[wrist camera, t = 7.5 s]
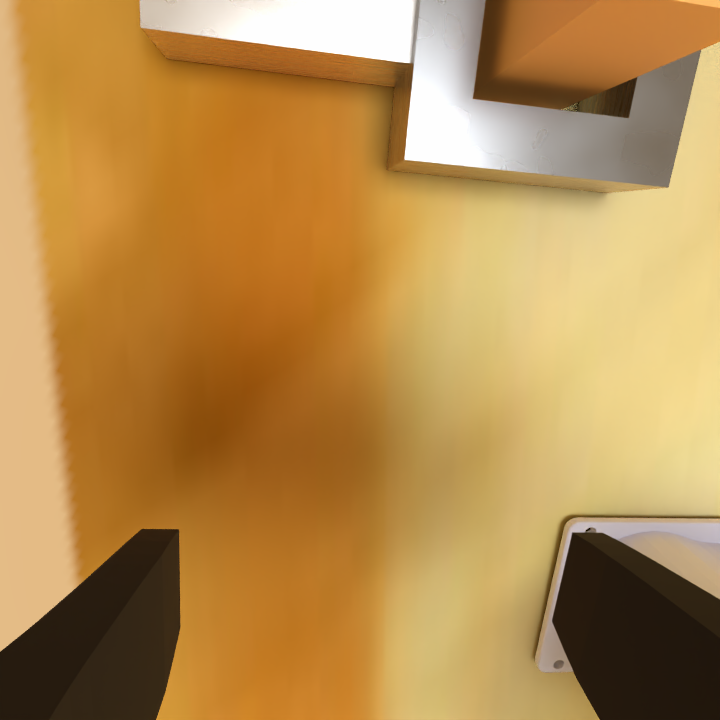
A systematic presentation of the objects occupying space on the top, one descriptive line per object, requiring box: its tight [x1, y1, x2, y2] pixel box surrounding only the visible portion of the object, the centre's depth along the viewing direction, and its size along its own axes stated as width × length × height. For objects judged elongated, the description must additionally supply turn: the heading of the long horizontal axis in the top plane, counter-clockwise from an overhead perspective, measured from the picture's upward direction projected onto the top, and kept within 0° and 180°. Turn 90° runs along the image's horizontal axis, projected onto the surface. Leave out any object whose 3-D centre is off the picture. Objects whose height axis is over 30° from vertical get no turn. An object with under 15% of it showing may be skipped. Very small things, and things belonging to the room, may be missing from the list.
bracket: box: [140, 0, 701, 193], centre depth 14 cm, size 15×8×3 cm, turn 85°
